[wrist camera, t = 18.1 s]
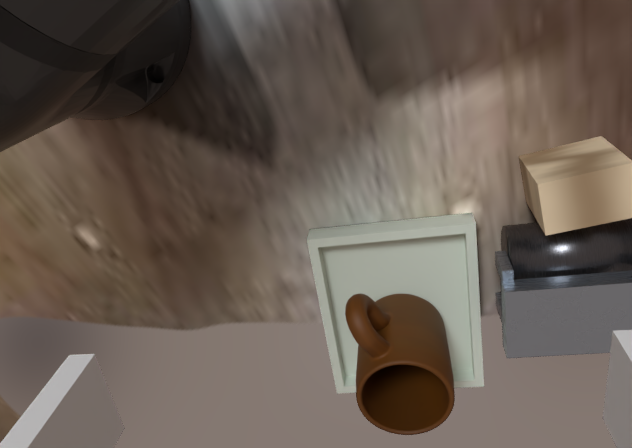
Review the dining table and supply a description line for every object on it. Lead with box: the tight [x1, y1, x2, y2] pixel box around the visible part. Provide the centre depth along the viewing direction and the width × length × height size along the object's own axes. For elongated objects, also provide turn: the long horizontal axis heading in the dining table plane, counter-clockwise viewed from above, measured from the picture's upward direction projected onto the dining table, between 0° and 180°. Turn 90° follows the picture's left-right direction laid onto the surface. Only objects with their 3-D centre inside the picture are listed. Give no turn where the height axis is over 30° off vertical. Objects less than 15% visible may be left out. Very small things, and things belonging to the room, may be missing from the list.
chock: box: [519, 136, 632, 236], centre depth 39 cm, size 6×4×6 cm, turn 107°
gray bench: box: [495, 218, 632, 358], centre depth 42 cm, size 11×9×7 cm
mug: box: [345, 293, 454, 435], centre depth 44 cm, size 12×8×9 cm, turn 33°
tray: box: [307, 213, 484, 393], centre depth 48 cm, size 14×17×2 cm
